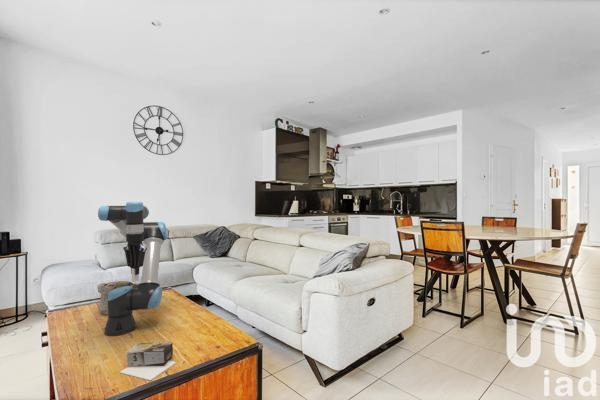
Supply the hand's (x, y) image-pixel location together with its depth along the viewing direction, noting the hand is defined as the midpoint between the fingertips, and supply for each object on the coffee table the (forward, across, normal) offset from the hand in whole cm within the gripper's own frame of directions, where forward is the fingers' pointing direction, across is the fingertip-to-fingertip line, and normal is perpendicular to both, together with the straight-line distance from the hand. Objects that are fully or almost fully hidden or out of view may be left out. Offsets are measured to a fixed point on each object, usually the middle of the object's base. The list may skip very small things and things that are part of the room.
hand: (135, 281), depth 148 cm
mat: (+32, +21, -12) cm, 40 cm away
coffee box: (+29, +10, -11) cm, 33 cm away
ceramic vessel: (+33, -53, +34) cm, 71 cm away
